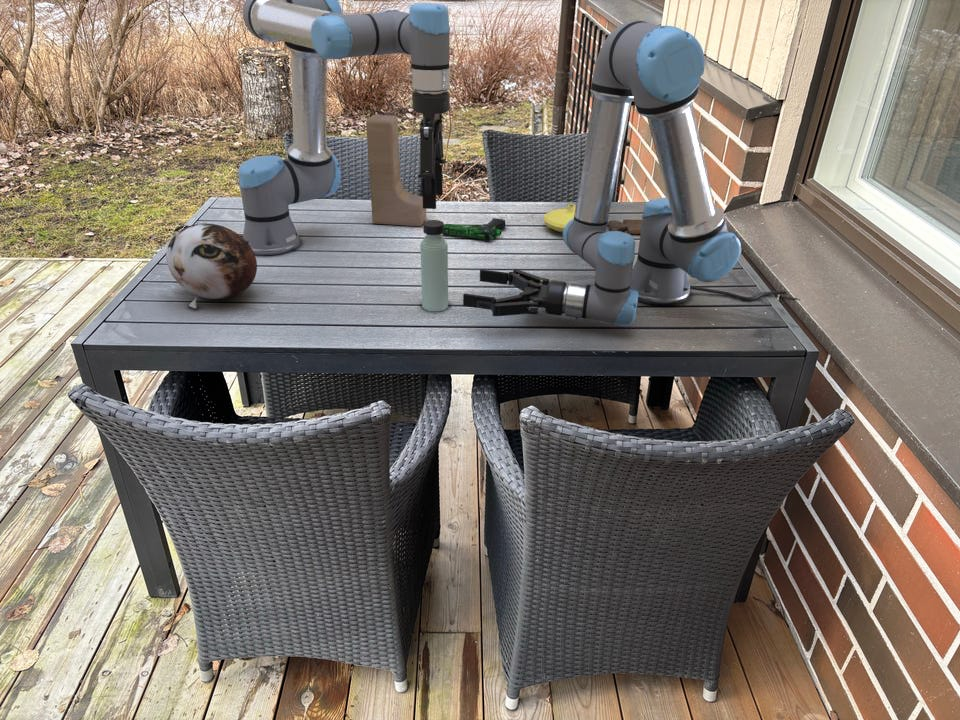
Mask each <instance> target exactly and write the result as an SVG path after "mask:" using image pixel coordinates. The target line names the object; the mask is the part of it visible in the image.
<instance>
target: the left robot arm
mask: <svg viewBox="0 0 960 720" xmlns="http://www.w3.org/2000/svg"><path fill="white" fill-rule="evenodd" d="M242 18H243V22H244V24H245V27H246V29H247V30H248V31H249V33H250V34H251V35H253V36H254V37H255V38H257V39H258V40H261V41H264V42H268V43H279V42H283V44H284V47H286V49H287V50H288V51H289V52H290V63H291V64H290V65H291V66H290V67H291V100H292V101H291V104H292V105H291V107H292V140H293V141H292V144H290V146H289V147H288V148H287V158H286V159H283V158H282V157H281V156H279V155H275V154H268V155H260V156H259V155H258V156H256V157H252V158H249V159H247V160H245V161H244V162H242V163H241V165H239V167H238V170H237V174H238V186H239V190H240V196H241V201H242V208H243V212H244V213H243V215H244V219H245V220H244V226H243V228H244V229H243V234H242V235H241V234H239V235H240V236H241V237H243V238H244V239H245V240H246V241H249V242H248V244H249V245H250V247H251V248H252V250H253V252H254V254H255V256H256V255H257V256H275V255H281V254H282V255H283V254H285V253H289V252H291V251H293V250H296V249H297V248H298V247H299V246H300V244H301V241H300V235H299V233H298V231H297V229H296V227H295V225H294V223H293V220H292V218H291V216H290V207H289V206H290V205H294V204H299V203H303V202H308V201H312V200H322V199H324V198H326V197H329V196H332V195H334V194H335V193H336V192H337V191H338V189H339V187H340V184H341V179H342V178H341V175H342V174H341V168H340V163H339V161H338V158H337V156H336V155H334V154H333V150H332V149H331V148H330V147H329V146H328V145H327V120H328V119H327V118H328V117H327V114H328V113H327V111H328V109H327V108H328V106H327V103H328V101H327V97H328V94H327V92H328V90H327V89H328V86H327V85H328V60H342V59H348V58H358V57H365V56H366V57H368V56H379V55H380V56H381V55H391V54H405V55H409V56H410V67H411V71H409V72H408V77H409V78H412V79H411V88H412V89H413V91H412V92H411V102H412V103H411V105H412V106H411V109H412V110H413V112H415V113H417V114H422V116H423V119H422V121H420V126H419V137H420V138H419V140H420V141H419V142H420V143H419V144H420V145H419V147H420V148H419V149H420V153H419V154H420V155H419V156H420V157H419V159H420V160H419V174H417V178H418V179H421V189H422V197H423V208H425V209H426V210H428V209H429V210H436V209H437V196H443V193H444V192H443V191H444V189H443V188H444V187H443V185H444V184H443V182H444V181H443V165H446V163H447V160H446V158H444V157H445V154H444V139H443V136H444V135H443V117H444V116H443V114H446V113H448V112H449V111H450V109H451V94H450V92H449V91H448V90H449V89H450V87H451V67H450V32H451V26H450V17H449V10H448V6H446V5H445V4H442V3H432V2H431V3H428V2H423V3H421V2H420V3H413V4H411V5H410V6H409V12H405V11H400V10H399V9H392V10H391V9H386V10H385V9H384V10H382V11H379V12H369V13H368V12H367V13H366V12H365V13H353V14H352V13H350V14H347V13H346V14H345V13H344V12H343V10H342V7H341V4H340V1H339V0H245V1H244V4H243V8H242ZM184 226H185V227H184ZM188 226H189V225H186V224H185V225H180V226H178V227H176V228H175V229H174V230H173V232H174V233H178V232H179V231H180V230H182V228H183V227H184V228H186V227H188ZM184 228H183V229H184Z"/></svg>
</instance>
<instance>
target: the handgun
mask: <svg viewBox="0 0 960 720" xmlns="http://www.w3.org/2000/svg"><path fill="white" fill-rule="evenodd" d="M505 228H506V220H505V219H503V218H497V217H492V219H491V220H490V221H489V222H488V223H483V224H482V225H479V224H472V225H459V224H453V223H444V232H443V233H442V234H441V235H446V236H454V237H462V238H469V239H470V238H471V239H474V240H479V241H484V242H491V241H492V240H494V239H495V238H497V237H500V236H502V230H504V229H505Z"/></svg>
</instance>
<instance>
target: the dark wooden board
mask: <svg viewBox="0 0 960 720" xmlns="http://www.w3.org/2000/svg"><path fill="white" fill-rule="evenodd" d="M607 226H608V229H609V231H620V232H624V231H627V233H628V234H630V235H640V234H641V226H642V219H623V220H622V222H621V221H619V220H615V219H614V220H608V222H607Z"/></svg>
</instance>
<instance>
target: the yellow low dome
mask: <svg viewBox="0 0 960 720" xmlns="http://www.w3.org/2000/svg"><path fill="white" fill-rule="evenodd" d="M575 208H576V204H571V203H570V204H567V208H557V209H552V210H549V211H548V212H547V213H545V214H544V216H543V222H544V225H545V226H546V227H548V228H550V229H551V230H554V231H556V232H559V233H563V230H564V228H565V227H566V225H567V223H568V222H569V221H570V220H572V219H574V214H575Z"/></svg>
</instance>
